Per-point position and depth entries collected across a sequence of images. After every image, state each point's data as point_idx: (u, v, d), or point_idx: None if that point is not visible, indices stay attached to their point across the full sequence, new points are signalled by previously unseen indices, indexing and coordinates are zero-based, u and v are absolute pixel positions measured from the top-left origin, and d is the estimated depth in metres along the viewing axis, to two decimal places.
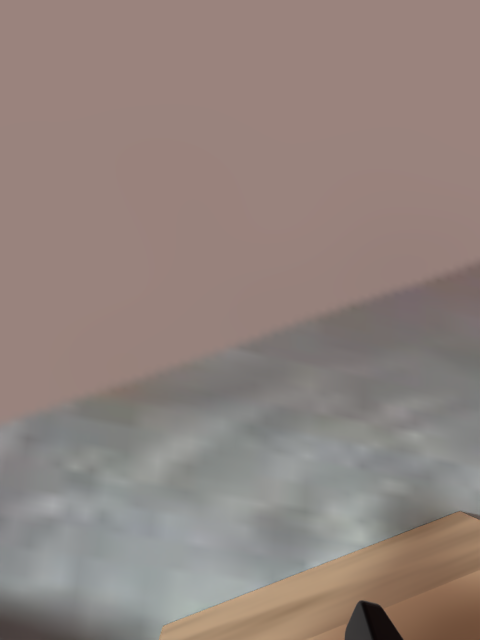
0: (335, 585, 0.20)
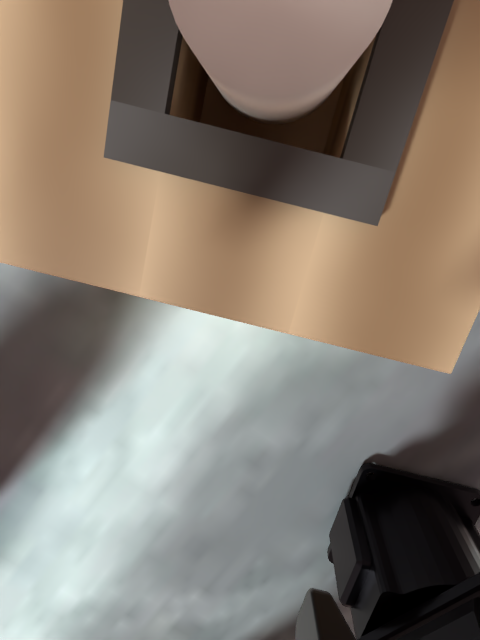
0: None
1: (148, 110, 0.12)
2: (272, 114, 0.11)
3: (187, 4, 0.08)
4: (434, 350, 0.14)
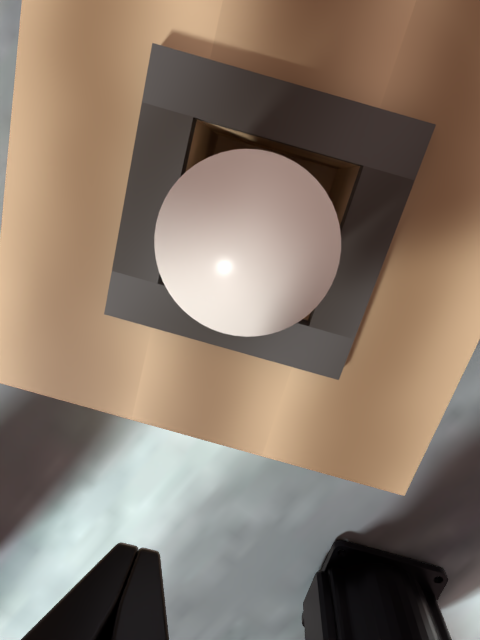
0: None
1: (143, 280, 0.14)
2: None
3: (172, 270, 0.10)
4: (389, 476, 0.16)
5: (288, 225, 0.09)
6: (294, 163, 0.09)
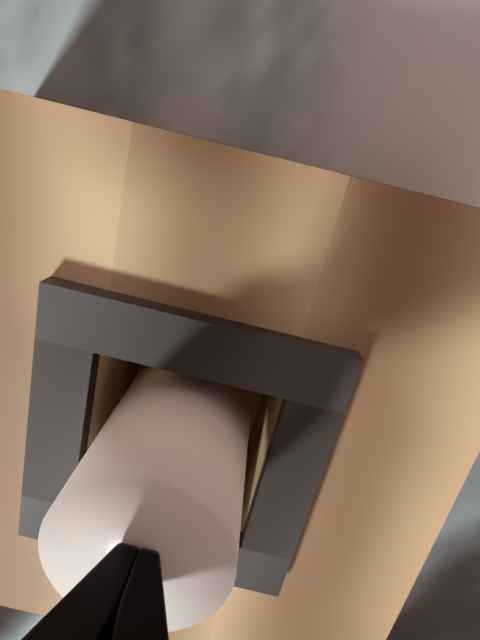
0: None
1: None
2: None
3: (61, 577, 0.09)
4: None
5: (179, 542, 0.09)
6: (177, 489, 0.08)
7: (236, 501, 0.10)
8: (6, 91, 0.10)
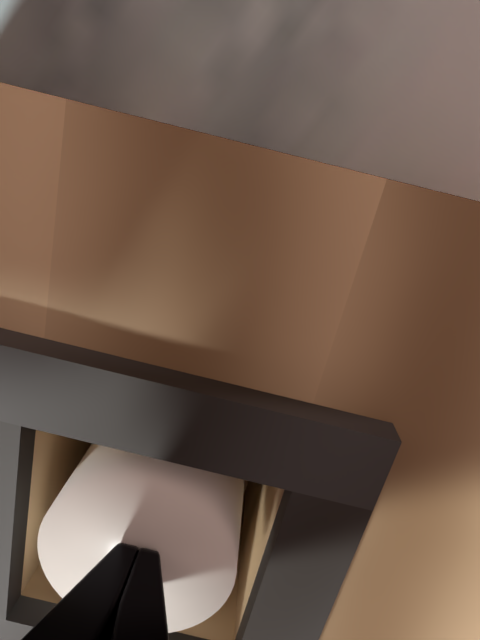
0: None
1: None
2: None
3: (61, 578, 0.09)
4: None
5: (178, 542, 0.09)
6: (177, 489, 0.08)
7: (236, 502, 0.10)
8: None
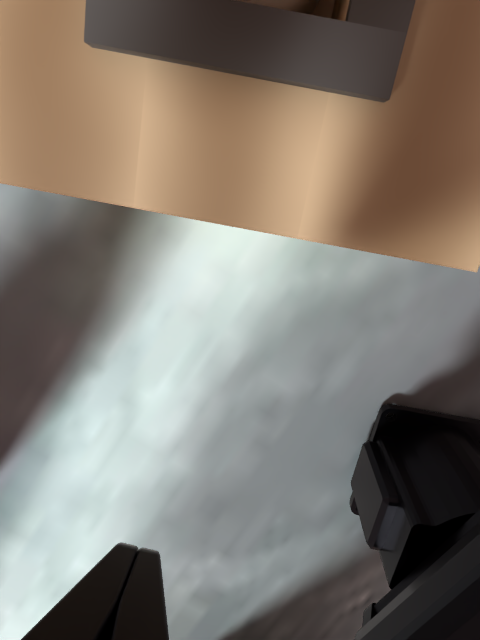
0: None
1: None
2: None
3: None
4: (457, 246, 0.13)
5: None
6: None
7: None
8: None
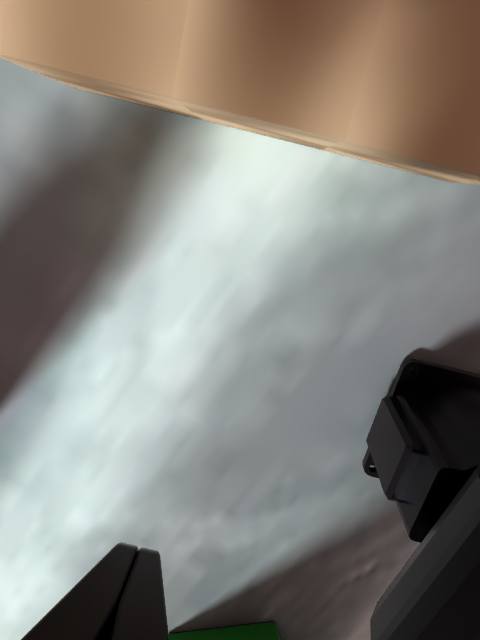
0: None
1: None
2: None
3: None
4: None
5: None
6: None
7: None
8: None
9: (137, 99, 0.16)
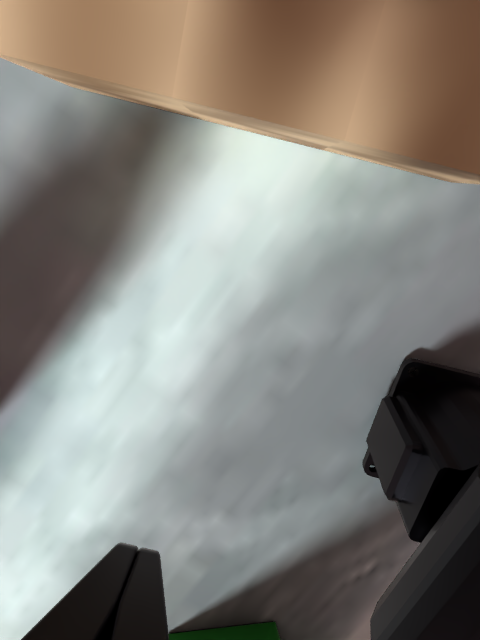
0: None
1: None
2: None
3: None
4: None
5: None
6: None
7: None
8: None
9: (137, 99, 0.16)
